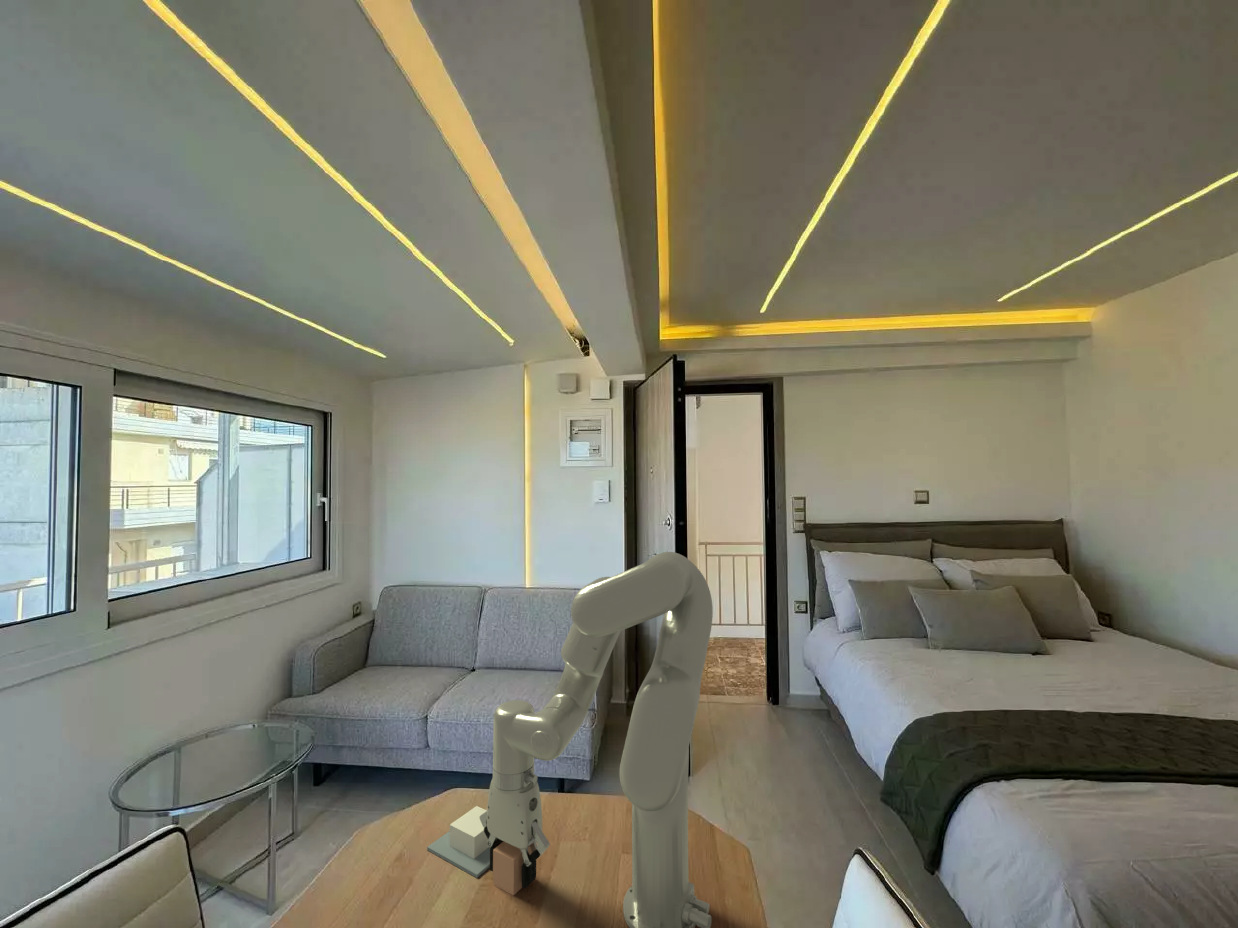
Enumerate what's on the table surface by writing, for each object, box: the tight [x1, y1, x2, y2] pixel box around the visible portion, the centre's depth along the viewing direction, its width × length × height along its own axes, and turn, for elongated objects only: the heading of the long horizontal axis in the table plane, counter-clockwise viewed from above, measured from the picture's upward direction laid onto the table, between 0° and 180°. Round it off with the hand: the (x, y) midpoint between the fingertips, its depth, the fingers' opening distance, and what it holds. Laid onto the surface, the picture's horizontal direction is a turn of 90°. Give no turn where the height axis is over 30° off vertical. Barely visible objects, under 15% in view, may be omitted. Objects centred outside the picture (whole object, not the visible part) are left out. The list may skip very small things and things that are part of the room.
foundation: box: [426, 805, 490, 879], centre depth 100 cm, size 14×12×5 cm
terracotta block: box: [492, 841, 532, 897], centre depth 91 cm, size 5×5×6 cm
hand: (512, 873), depth 91 cm, fingers open, 7 cm apart
